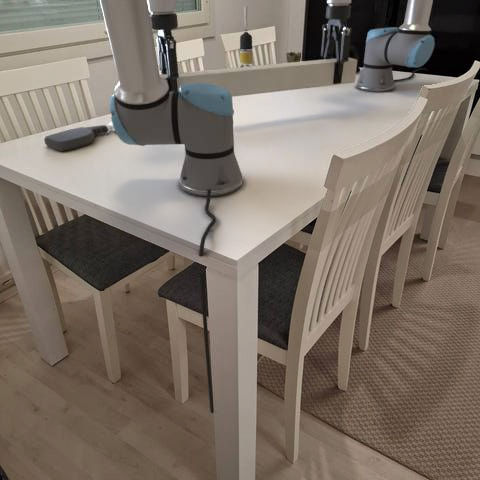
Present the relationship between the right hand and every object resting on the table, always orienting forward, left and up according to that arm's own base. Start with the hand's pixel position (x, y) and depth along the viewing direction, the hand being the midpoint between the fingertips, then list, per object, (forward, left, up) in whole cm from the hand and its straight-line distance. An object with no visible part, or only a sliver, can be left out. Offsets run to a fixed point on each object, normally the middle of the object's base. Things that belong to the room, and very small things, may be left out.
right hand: (332, 81), depth 152 cm
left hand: (+45, -33, 0) cm, 56 cm away
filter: (-32, -53, -11) cm, 63 cm away
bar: (+23, -17, 0) cm, 28 cm away
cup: (-62, -44, -11) cm, 77 cm away
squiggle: (-71, -19, -11) cm, 74 cm away
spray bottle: (+60, -56, -11) cm, 83 cm away
